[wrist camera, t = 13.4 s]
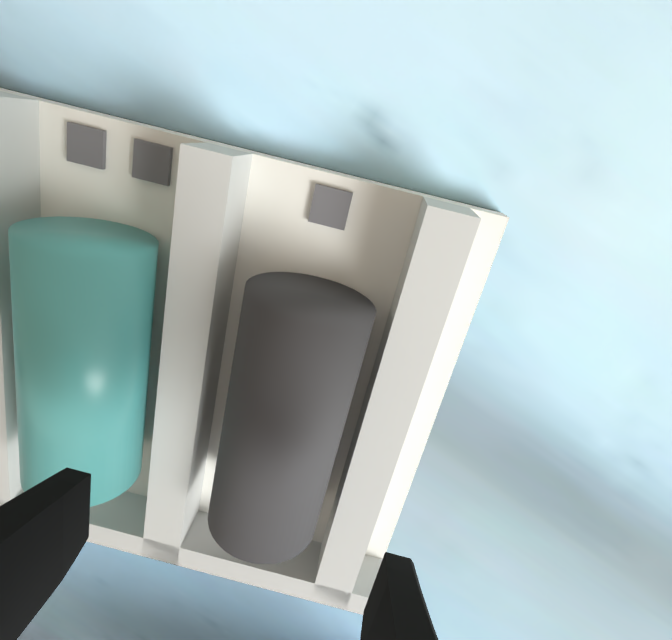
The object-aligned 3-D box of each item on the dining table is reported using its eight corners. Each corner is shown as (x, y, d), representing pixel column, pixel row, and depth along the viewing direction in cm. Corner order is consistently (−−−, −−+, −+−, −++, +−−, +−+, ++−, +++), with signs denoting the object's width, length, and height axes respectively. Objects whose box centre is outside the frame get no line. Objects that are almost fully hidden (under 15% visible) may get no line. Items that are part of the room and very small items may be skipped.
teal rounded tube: (157, 444, 20) (112, 518, 16) (60, 425, 19) (-8, 496, 16) (176, 235, 16) (124, 268, 13) (59, 209, 16) (-29, 235, 12)
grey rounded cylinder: (323, 494, 19) (303, 578, 16) (230, 468, 20) (188, 544, 16) (380, 292, 16) (371, 339, 12) (266, 262, 16) (224, 299, 12)
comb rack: (378, 556, 22) (376, 618, 19) (2, 457, 22) (-54, 504, 19) (502, 213, 16) (526, 229, 13) (-19, 83, 16) (-106, 71, 13)
